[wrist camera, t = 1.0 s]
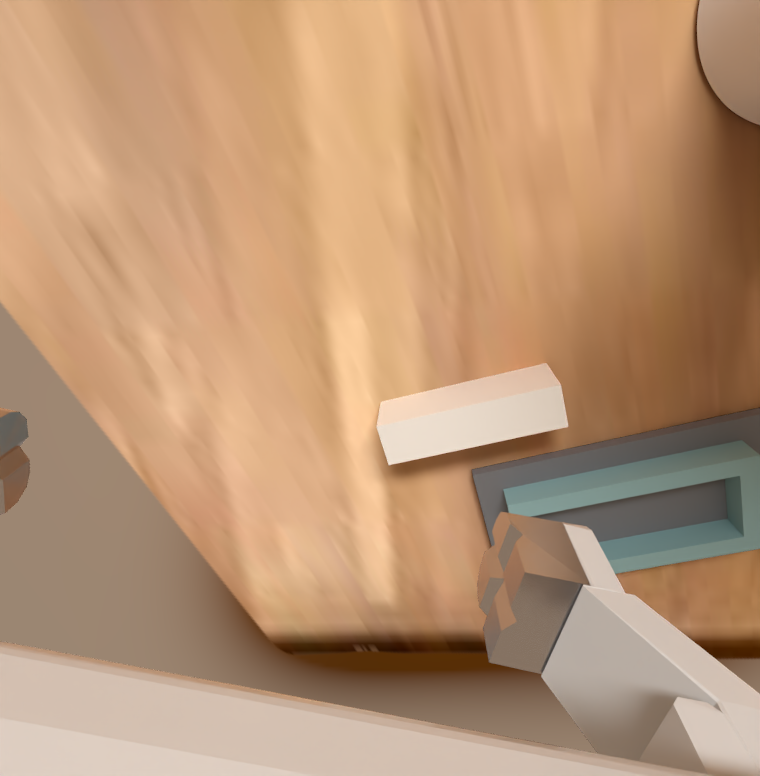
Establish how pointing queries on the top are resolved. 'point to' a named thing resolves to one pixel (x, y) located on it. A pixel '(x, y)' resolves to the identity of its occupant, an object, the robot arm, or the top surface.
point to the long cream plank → (471, 414)
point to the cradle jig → (644, 491)
